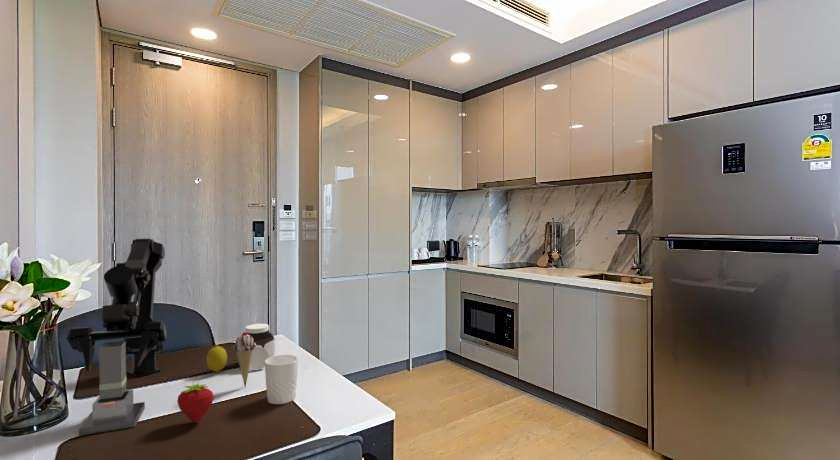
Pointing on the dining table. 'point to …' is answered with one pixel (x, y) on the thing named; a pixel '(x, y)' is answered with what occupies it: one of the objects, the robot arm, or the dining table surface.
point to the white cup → (281, 378)
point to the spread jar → (261, 345)
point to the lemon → (216, 359)
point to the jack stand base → (112, 414)
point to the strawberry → (195, 401)
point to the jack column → (112, 369)
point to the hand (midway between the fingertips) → (112, 368)
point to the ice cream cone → (244, 353)
